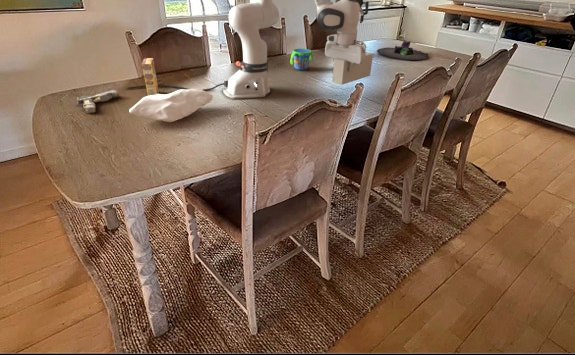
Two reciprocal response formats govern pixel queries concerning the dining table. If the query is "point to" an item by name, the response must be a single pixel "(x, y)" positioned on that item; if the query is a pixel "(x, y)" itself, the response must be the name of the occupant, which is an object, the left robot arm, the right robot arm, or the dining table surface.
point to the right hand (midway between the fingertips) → (352, 22)
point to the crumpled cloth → (171, 104)
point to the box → (357, 72)
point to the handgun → (95, 100)
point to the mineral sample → (403, 52)
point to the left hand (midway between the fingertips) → (343, 69)
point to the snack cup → (301, 58)
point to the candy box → (150, 76)
